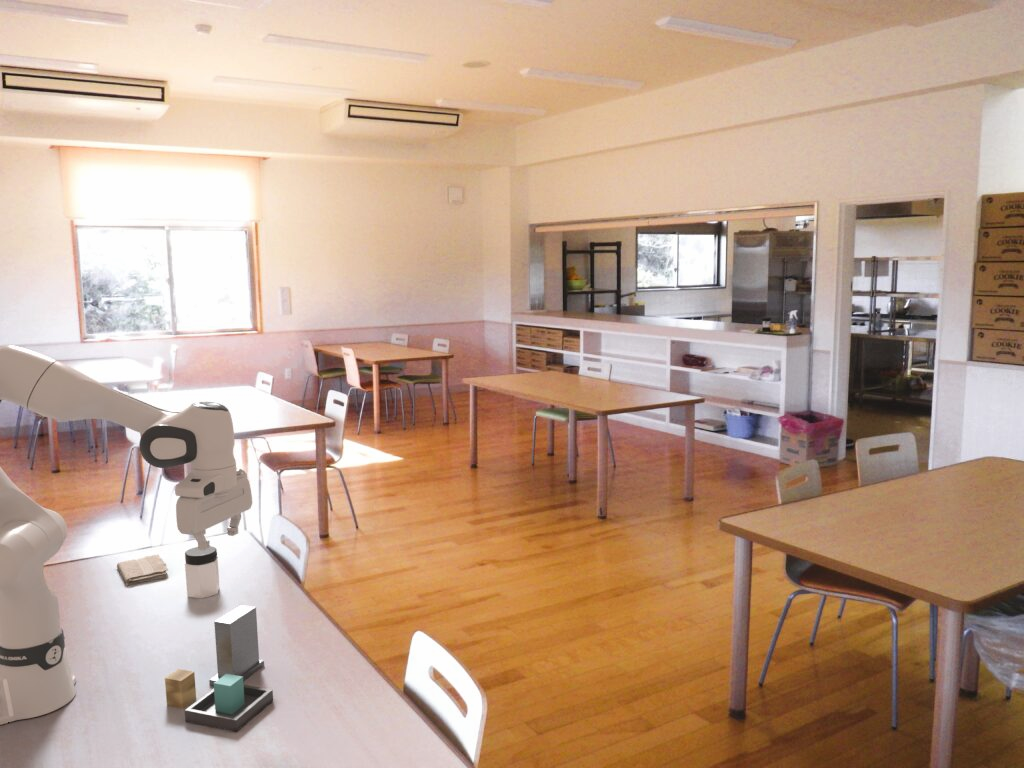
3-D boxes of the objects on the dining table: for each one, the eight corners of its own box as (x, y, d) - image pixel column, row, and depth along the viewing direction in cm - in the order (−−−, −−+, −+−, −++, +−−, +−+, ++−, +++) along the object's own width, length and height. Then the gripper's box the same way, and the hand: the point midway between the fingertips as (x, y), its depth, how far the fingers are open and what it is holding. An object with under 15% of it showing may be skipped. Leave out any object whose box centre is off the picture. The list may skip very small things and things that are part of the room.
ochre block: (166, 705, 170) (164, 678, 169) (180, 695, 173) (178, 669, 172) (182, 708, 168) (180, 681, 167) (196, 698, 172) (194, 671, 171)
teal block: (215, 711, 166) (213, 683, 165) (228, 701, 169) (226, 673, 169) (232, 714, 164) (230, 686, 164) (244, 704, 168) (242, 676, 167)
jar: (217, 597, 224) (214, 555, 222) (185, 600, 222) (182, 557, 221) (221, 585, 233) (218, 544, 231) (190, 587, 231) (187, 546, 229)
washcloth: (126, 588, 232) (126, 578, 232) (115, 569, 247) (114, 559, 246) (171, 579, 239) (170, 569, 238) (157, 561, 254) (157, 551, 253)
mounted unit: (209, 684, 178) (205, 622, 175) (241, 661, 188) (237, 602, 186) (233, 689, 176) (229, 626, 174) (264, 665, 186) (260, 605, 184)
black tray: (185, 721, 163) (184, 710, 163) (224, 692, 175) (223, 680, 174) (236, 732, 160) (235, 720, 159) (273, 701, 171) (272, 689, 170)
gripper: (233, 465, 184) (237, 525, 186) (168, 490, 165) (173, 556, 167) (257, 467, 182) (261, 528, 184) (194, 492, 163) (199, 559, 165)
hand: (218, 541), depth 176 cm, fingers open, 8 cm apart
